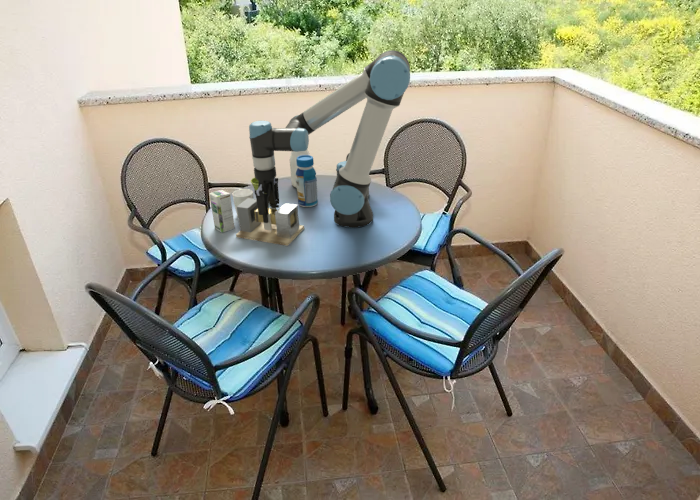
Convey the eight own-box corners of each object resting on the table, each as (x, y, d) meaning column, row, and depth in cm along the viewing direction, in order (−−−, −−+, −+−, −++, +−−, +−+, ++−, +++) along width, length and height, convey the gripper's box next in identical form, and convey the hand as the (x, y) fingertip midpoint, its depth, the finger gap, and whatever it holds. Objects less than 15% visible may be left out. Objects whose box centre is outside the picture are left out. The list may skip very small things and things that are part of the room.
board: (304, 228, 192) (304, 225, 192) (287, 245, 181) (287, 242, 180) (255, 221, 199) (254, 218, 198) (236, 237, 188) (235, 234, 187)
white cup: (251, 220, 199) (248, 197, 194) (232, 219, 201) (229, 196, 196) (258, 212, 206) (255, 189, 201) (240, 211, 207) (237, 188, 202)
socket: (261, 223, 194) (258, 199, 190) (250, 232, 188) (247, 208, 183) (251, 221, 196) (247, 198, 191) (240, 230, 189) (236, 206, 185)
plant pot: (266, 205, 212) (263, 185, 207) (248, 200, 216) (245, 181, 212) (279, 196, 219) (277, 177, 214) (262, 192, 223) (260, 174, 219)
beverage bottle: (315, 208, 208) (312, 161, 198) (295, 207, 209) (291, 160, 199) (320, 200, 215) (317, 154, 205) (300, 199, 216) (297, 153, 206)
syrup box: (214, 228, 194) (208, 193, 187) (227, 223, 198) (222, 188, 190) (222, 233, 191) (216, 197, 183) (235, 228, 194) (230, 192, 187)
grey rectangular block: (299, 228, 189) (297, 204, 185) (289, 238, 183) (287, 214, 178) (287, 227, 191) (285, 203, 186) (277, 236, 185) (274, 212, 180)
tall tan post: (294, 222, 186) (293, 211, 184) (289, 227, 183) (288, 216, 181) (261, 216, 191) (259, 206, 189) (255, 221, 187) (254, 211, 185)
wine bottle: (309, 189, 225) (304, 121, 210) (288, 188, 227) (282, 121, 212) (315, 181, 233) (311, 115, 218) (295, 180, 235) (290, 114, 220)
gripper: (266, 157, 185) (273, 215, 197) (242, 174, 171) (250, 235, 183) (285, 159, 183) (290, 218, 194) (262, 176, 169) (269, 238, 180)
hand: (271, 226), depth 188 cm, fingers closed on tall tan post, 4 cm apart
